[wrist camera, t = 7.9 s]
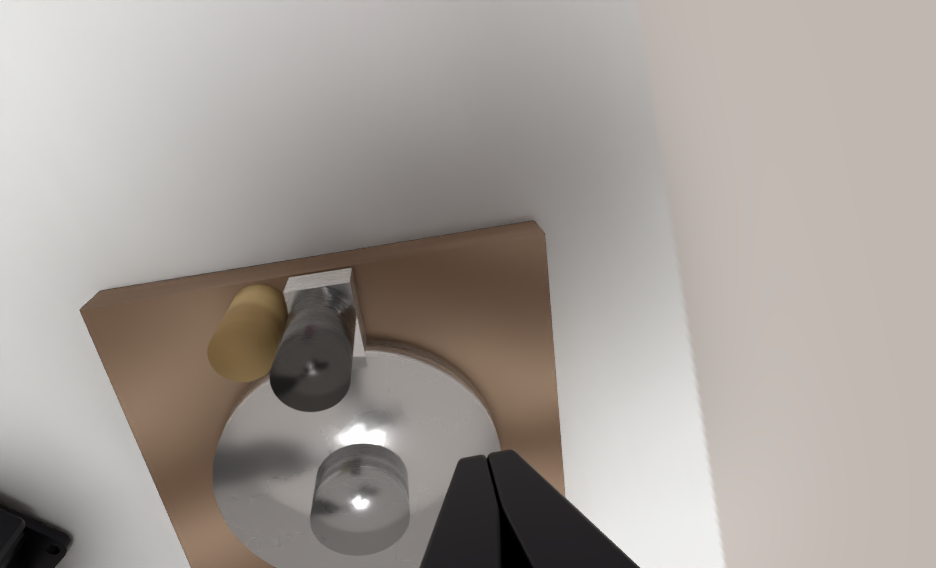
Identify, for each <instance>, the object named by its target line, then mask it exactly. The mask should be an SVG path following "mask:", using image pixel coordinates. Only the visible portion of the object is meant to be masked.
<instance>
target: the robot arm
mask: <svg viewBox="0 0 936 568" xmlns="http://www.w3.org/2000/svg"><path fill="white" fill-rule="evenodd" d="M71 544H72V541H71V539H70V537H69V536H67V535H66V534H64V533H62V532H60V531H58V530H55V529H53V528H51V527H49V526H47V525H44V524H42V523H40V522H38V521H36V520H34V519H31V518H29V517H27V516H25V515H23V514H20V513H18V512H16V511H14V510H12V509H10V508H7V507H5V506H3V505H1V504H0V568H55V566H56V565H57V564H58V563H59V562H60V561H61V560H62V558H63V557H64V556H65V555H66V553H67V551H68V550H69V548H70V546H71ZM54 545H56V546H54ZM419 568H640V567H639V566H638V565H637V564H636V563H634V562H633V561H632V560H631V559H630V558H629V557H628V556H627V555H626V554H625V553H624V552H623V551H622V550H621V549H620V548H618V547H617V546H616V545H615V544H614V543H613V542H612V541H611V540H610V539H609V538H608V537H607V536H606V535H605V534H604V533H602V532H601V531H600V530H599V529H598V528H597V527H596V526H595V525H594V524H593V523H592V522H591V521H590V520H589V519H588V518H586V517H585V516H584V515H583V514H582V513H581V512H580V511H579V510H578V509H577V508H576V507H575V506H574V505H573V504H572V503H570V502H569V501H568V500H567V499H566V498H565V497H564V496H563V495H562V494H561V493H560V492H559V491H558V490H557V489H556V488H554V487H553V486H552V485H551V484H550V483H549V482H548V481H547V480H546V479H545V478H544V477H543V476H542V475H541V474H540V473H538V472H537V471H536V470H535V469H534V468H533V467H532V466H531V465H530V464H529V463H528V462H527V461H526V460H525V459H524V458H522V457H521V456H520V455H519V454H518V453H517V452H516V451H515V450H512V449H508V450H503V451H497V452H492V453H489V454H488V456H487V458H486V456H485V455H475V456H470V457H464V458H461V459H460V460H459V461H458V463H457V465H456V468H455V471H454V473H453V476H452V479H451V482H450V484H449V487H448V490H447V493H446V495H445V498H444V501H443V504H442V506H441V509H440V512H439V515H438V517H437V520H436V523H435V526H434V528H433V531H432V534H431V537H430V540H429V542H428V545H427V548H426V551H425V553H424V556H423V559H422V562H421V564H420V567H419Z"/></svg>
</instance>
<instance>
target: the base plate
mask: <svg viewBox="0 0 936 568" xmlns="http://www.w3.org/2000/svg"><path fill="white" fill-rule="evenodd" d="M347 268H352V272H353V277H354V282H355V287H356V291H357V296H358V301H359V306H360V311H361V315H362V320H363V325H364V330H365V335H366V339H380V340H388V341H395V342H399V343H403V344H407V345H411V346H414V347H417V348H420V349H422V350H425V351H428V352H430V353H432V354H434V355H436V356H438V357H439V358H441V359H443V360H445V361H447V362H448V363H449V364H451V365H452V366H454V367H455V368H456V369H458V370H459V371H460V372H461V373H462V374H463V375H464V376H465V377H467V378H468V379H469V380H470V381H471V382H472V384H473V385H474V386H475V387H476V389H477V390H478V391H479V393H480V394H481V395H482V397H483V399H484V401H485V403H486V404H487V406H488V408H489V411H490V414H491V416H492V419H493V422H494V425H495V429H496V433H497V436H498V440H499V444H500V449H501V451H503V450H508V449H512V450H515V451H516V452H517V453H518V454H519V455H520V456H521V457H522V458H524V459H525V460H526V461H527V462H528V463H529V464H530V465H531V466H532V467H533V468H534V469H535V470H536V471H537V472H538V473H540V474H541V475H542V476H543V477H544V478H545V479H546V480H547V481H548V482H549V483H550V484H551V485H552V486H553V487H554V488H556V489H557V490H558V491H559V492H560V493H561V494H562V495H563V496H564V497H565V487H564V474H563V461H562V448H561V435H560V422H559V409H558V396H557V383H556V370H555V357H554V344H553V331H552V318H551V306H550V293H549V280H548V267H547V254H546V241H545V233H544V232H543V231H542V229H541V228H540V227H539V226H538V224H537V223H536V222H535V221H528V222H522V223H516V224H510V225H504V226H498V227H491V228H485V229H479V230H473V231H467V232H460V233H454V234H448V235H442V236H436V237H430V238H423V239H417V240H411V241H405V242H399V243H393V244H386V245H380V246H374V247H368V248H362V249H355V250H349V251H343V252H337V253H331V254H325V255H318V256H312V257H306V258H300V259H294V260H287V261H281V262H275V263H269V264H263V265H257V266H250V267H244V268H238V269H232V270H226V271H220V272H213V273H207V274H201V275H195V276H189V277H182V278H176V279H170V280H164V281H158V282H152V283H145V284H139V285H133V286H127V287H121V288H114V289H108V290H102V291H99V292H98V293H97V294H96V295H95V296H94V297H93V298H92V299H91V300H89V301H88V302H87V303H86V304H85V305H84V306H83V307H82V308H81V309H80V313H81V315H82V317H83V319H84V322H85V324H86V326H87V329H88V331H89V333H90V336H91V338H92V340H93V343H94V345H95V347H96V349H97V352H98V354H99V356H100V359H101V361H102V363H103V366H104V368H105V370H106V373H107V375H108V377H109V379H110V382H111V384H112V386H113V389H114V391H115V393H116V396H117V398H118V400H119V402H120V405H121V407H122V409H123V412H124V414H125V416H126V419H127V421H128V423H129V426H130V428H131V430H132V432H133V435H134V437H135V439H136V442H137V444H138V446H139V449H140V451H141V453H142V456H143V458H144V460H145V462H146V465H147V467H148V469H149V472H150V474H151V476H152V479H153V481H154V483H155V486H156V488H157V490H158V492H159V495H160V497H161V499H162V502H163V504H164V506H165V509H166V511H167V513H168V516H169V518H170V520H171V522H172V525H173V527H174V529H175V532H176V534H177V536H178V539H179V541H180V543H181V546H182V548H183V550H184V552H185V555H186V557H187V559H188V562H189V564H190V566H191V568H276V567H274V566H272V565H270V564H269V563H267V562H265V561H264V560H262V559H261V558H259V557H258V556H256V555H255V554H254V553H253V552H251V551H250V550H249V549H248V548H247V547H245V546H244V545H243V544H242V543H241V542H240V540H239V539H238V538H237V537H236V536H235V535H234V534H233V532H232V531H231V529H230V528H229V526H228V525H227V523H226V522H225V521H224V518H223V516H222V514H221V512H220V510H219V508H218V505H217V501H216V498H215V494H214V488H213V478H212V474H213V461H214V457H215V453H216V449H217V445H218V442H219V440H220V437H221V435H222V432H223V430H224V427H225V425H226V422H227V420H228V418H229V415H230V413H231V411H232V409H233V407H234V405H235V404H236V402H237V401H238V399H239V398H240V396H241V394H242V393H243V392H244V391H245V390H246V389H247V388H248V386H249V385H250V384H251V383H252V382H253V381H254V380H257V379H259V378H261V377H263V376H264V375H265V374H266V373H267V372H268V371H269V370H270V369H271V367H272V364H273V361H274V358H275V355H276V352H277V349H278V346H279V343H280V340H281V337H282V334H283V331H284V328H285V325H286V322H287V319H288V316H289V313H288V309H287V306H286V302H285V298H284V294H283V291H284V289H285V286H286V284H287V281H288V278H289V277H295V276H302V275H308V274H315V273H321V272H328V271H334V270H341V269H347Z"/></svg>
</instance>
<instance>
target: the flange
mask: <svg viewBox="0 0 936 568" xmlns="http://www.w3.org/2000/svg"><path fill="white" fill-rule="evenodd" d="M283 294H284V298H285V302H286V306H287V309H288V313H289V316H288V319H287V322H286V325H285V328H284V331H283V334H282V337H281V340H280V343H279V346H278V349H277V352H276V355H275V358H274V361H273V364H272V367H271V369H270V370H269V371H268V372H267V373H266V374H265V375H264V376H263V377H261V378H259V379H257V380H254V381H253V382H252V383H251V384H250V385H249V386H248V388H247V389H246V390H245V391H244V392H243V393H242V394H241V396H240V398H239V399H238V401H237V402H236V404H235V405H234V407H233V409H232V411H231V413H230V415H229V418H228V420H227V422H226V425H225V427H224V430H223V432H222V435H221V437H220V440H219V442H218V445H217V449H216V453H215V457H214V461H213V474H212V478H213V488H214V494H215V498H216V501H217V505H218V508H219V510H220V512H221V514H222V516H223V518H224V521H225V522H226V523H227V525H228V526H229V528H230V529H231V531H232V532H233V534H234V535H235V536H236V537H237V538H238V539H239V540H240V542H241V543H242V544H243V545H244V546H245V547H247V548H248V549H249V550H250V551H251V552H253V553H254V554H255V555H256V556H258V557H259V558H261V559H262V560H264V561H265V562H267V563H269V564H270V565H272V566H274V567H276V568H419V567H420V564H421V562H422V559H423V556H424V553H425V551H426V548H427V545H428V542H429V540H430V537H431V534H432V531H433V528H434V526H435V523H436V520H437V517H438V515H439V512H440V509H441V506H442V504H443V501H444V498H445V495H446V493H447V490H448V487H449V484H450V482H451V479H452V476H453V473H454V471H455V468H456V465H457V463H458V461H459V460H460V459H461V458H464V457H470V456H475V455H485V456H486V458H487V456H488V454H489V453H492V452H497V451H501V449H500V444H499V440H498V436H497V433H496V429H495V425H494V422H493V419H492V416H491V414H490V411H489V408H488V406H487V404H486V403H485V401H484V399H483V397H482V395H481V394H480V393H479V391H478V390H477V389H476V387H475V386H474V385H473V384H472V382H471V381H470V380H469V379H468V378H467V377H465V376H464V375H463V374H462V373H461V372H460V371H459V370H458V369H456V368H455V367H454V366H452V365H451V364H449V363H448V362H447V361H445V360H443V359H441V358H439V357H438V356H436V355H434V354H432V353H430V352H428V351H425V350H422V349H420V348H417V347H414V346H411V345H407V344H403V343H399V342H395V341H388V340H380V339H366V335H365V330H364V325H363V320H362V315H361V311H360V306H359V301H358V296H357V291H356V287H355V282H354V277H353V272H352V268H347V269H341V270H334V271H328V272H321V273H315V274H308V275H302V276H295V277H289V278H288V281H287V284H286V286H285V289H284V291H283Z"/></svg>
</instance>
